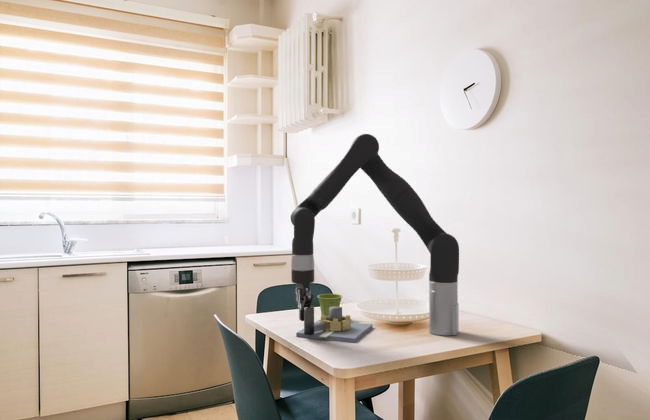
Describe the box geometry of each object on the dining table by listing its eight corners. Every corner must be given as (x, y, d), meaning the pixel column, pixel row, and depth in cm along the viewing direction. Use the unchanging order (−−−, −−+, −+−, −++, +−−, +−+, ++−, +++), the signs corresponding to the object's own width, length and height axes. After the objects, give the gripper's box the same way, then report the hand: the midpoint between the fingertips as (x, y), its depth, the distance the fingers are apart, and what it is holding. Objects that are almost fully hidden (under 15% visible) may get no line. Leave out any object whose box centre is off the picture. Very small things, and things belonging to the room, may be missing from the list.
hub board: (372, 327, 170) (372, 304, 170) (352, 344, 149) (352, 317, 149) (319, 323, 177) (319, 300, 177) (293, 337, 157) (293, 312, 157)
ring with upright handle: (335, 322, 171) (335, 298, 171) (356, 327, 164) (356, 302, 164) (295, 331, 158) (295, 305, 158) (316, 337, 151) (315, 310, 151)
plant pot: (342, 321, 180) (342, 298, 180) (317, 321, 180) (316, 298, 180) (342, 316, 189) (342, 293, 189) (317, 316, 189) (317, 293, 189)
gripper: (320, 269, 156) (321, 323, 156) (306, 265, 168) (306, 315, 168) (298, 271, 153) (299, 326, 153) (285, 266, 165) (286, 317, 165)
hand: (303, 320), depth 161 cm, fingers closed
